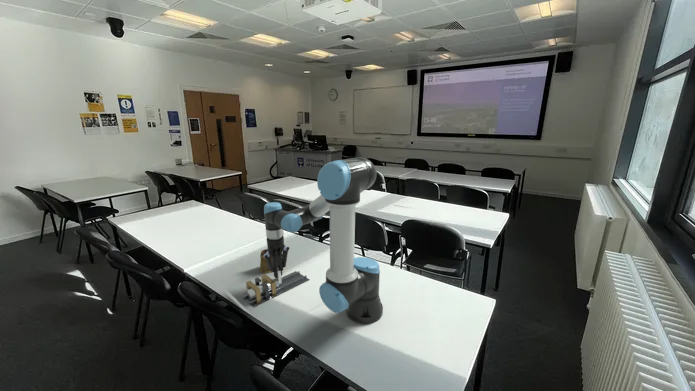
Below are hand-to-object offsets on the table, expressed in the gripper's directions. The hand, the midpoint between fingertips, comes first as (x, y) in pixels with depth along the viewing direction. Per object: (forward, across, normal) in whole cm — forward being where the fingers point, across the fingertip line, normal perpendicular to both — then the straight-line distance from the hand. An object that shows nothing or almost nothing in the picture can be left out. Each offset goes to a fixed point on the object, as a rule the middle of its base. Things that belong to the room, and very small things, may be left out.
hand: (278, 282), depth 133 cm
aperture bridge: (+3, +9, 0) cm, 9 cm away
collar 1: (+3, +13, 0) cm, 13 cm away
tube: (+2, +8, 0) cm, 8 cm away
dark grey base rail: (+3, +1, 0) cm, 3 cm away
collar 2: (+3, +5, 0) cm, 6 cm away
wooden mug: (+3, -5, -16) cm, 17 cm away
